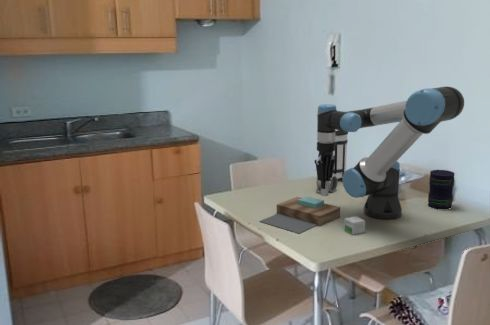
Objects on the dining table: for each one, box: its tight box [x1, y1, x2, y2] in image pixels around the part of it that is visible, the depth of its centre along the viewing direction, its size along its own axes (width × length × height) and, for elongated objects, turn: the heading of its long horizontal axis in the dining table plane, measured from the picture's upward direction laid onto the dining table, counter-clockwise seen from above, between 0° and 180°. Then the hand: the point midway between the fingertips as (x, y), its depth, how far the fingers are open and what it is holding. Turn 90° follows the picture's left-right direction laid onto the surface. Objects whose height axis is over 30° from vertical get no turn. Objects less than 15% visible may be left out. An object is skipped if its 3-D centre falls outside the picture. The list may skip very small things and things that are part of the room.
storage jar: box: [427, 169, 455, 210], centre depth 217 cm, size 10×10×15 cm
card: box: [298, 195, 325, 209], centre depth 211 cm, size 9×6×2 cm, turn 47°
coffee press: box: [333, 129, 349, 181], centre depth 259 cm, size 17×16×30 cm
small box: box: [343, 215, 366, 236], centre depth 192 cm, size 6×6×5 cm
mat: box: [258, 213, 319, 235], centre depth 201 cm, size 20×12×1 cm, turn 47°
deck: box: [276, 196, 341, 227], centre depth 210 cm, size 22×14×4 cm, turn 47°
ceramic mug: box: [315, 176, 338, 195], centre depth 242 cm, size 11×8×8 cm
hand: (324, 195), depth 218 cm, fingers closed
